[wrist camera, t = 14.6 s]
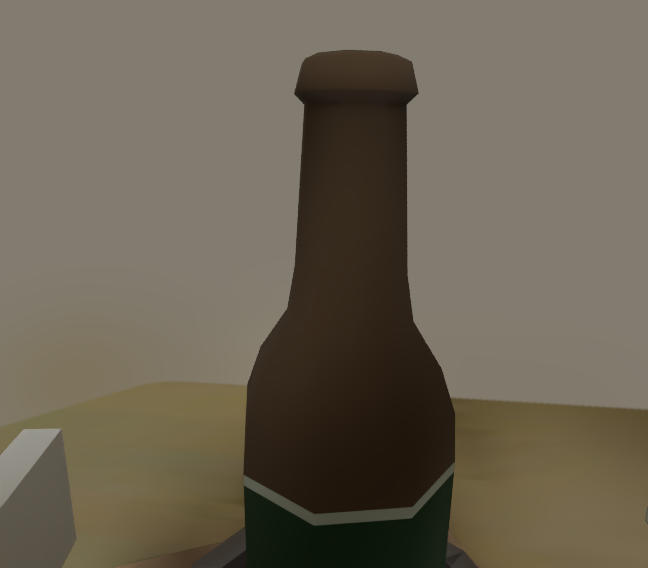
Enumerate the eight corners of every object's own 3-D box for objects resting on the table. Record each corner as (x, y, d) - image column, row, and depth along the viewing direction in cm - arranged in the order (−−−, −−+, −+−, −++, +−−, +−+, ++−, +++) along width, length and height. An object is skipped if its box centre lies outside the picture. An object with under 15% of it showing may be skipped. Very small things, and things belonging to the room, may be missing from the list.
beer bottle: (218, 640, 24) (188, 60, 17) (364, 574, 27) (385, 75, 21) (297, 834, 17) (297, 18, 11) (474, 712, 21) (555, 51, 14)
